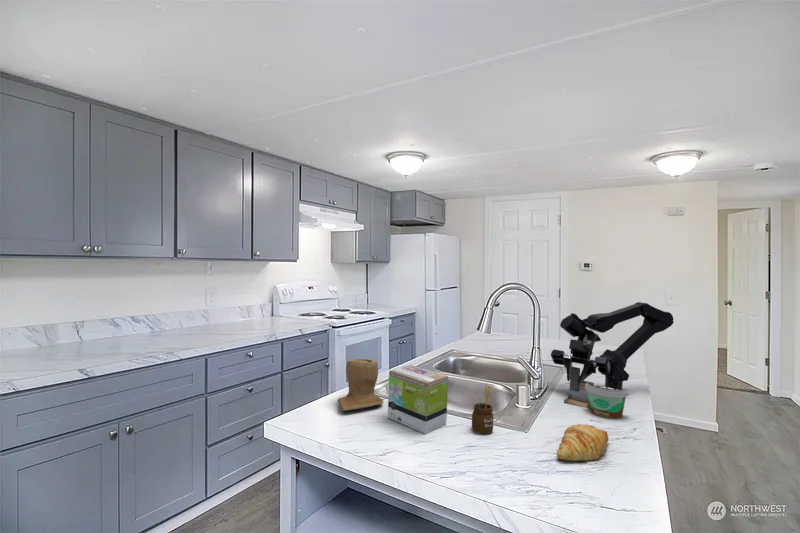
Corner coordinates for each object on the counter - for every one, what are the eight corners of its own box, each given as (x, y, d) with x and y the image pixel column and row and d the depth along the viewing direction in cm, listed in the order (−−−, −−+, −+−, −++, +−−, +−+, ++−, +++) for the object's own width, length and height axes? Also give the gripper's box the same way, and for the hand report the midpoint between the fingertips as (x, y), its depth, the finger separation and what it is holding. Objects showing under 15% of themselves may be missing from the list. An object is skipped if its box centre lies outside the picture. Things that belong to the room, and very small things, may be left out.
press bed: (571, 393, 149) (572, 378, 148) (595, 398, 144) (596, 382, 144) (563, 406, 135) (564, 389, 135) (589, 412, 131) (589, 394, 131)
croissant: (569, 482, 96) (585, 459, 92) (537, 447, 103) (551, 425, 99) (613, 456, 108) (629, 435, 105) (582, 426, 115) (595, 406, 112)
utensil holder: (467, 431, 114) (469, 388, 114) (478, 423, 119) (479, 383, 119) (487, 437, 110) (488, 393, 110) (496, 429, 115) (498, 387, 115)
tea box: (386, 419, 121) (387, 369, 120) (408, 410, 128) (410, 363, 128) (425, 435, 110) (427, 381, 110) (447, 424, 118) (449, 374, 117)
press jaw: (570, 396, 141) (571, 366, 140) (588, 400, 138) (590, 369, 137) (569, 398, 138) (570, 368, 138) (587, 402, 135) (588, 371, 135)
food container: (582, 418, 125) (583, 386, 125) (583, 411, 131) (584, 381, 131) (627, 427, 120) (629, 393, 119) (627, 420, 125) (628, 388, 125)
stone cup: (371, 396, 139) (372, 353, 139) (387, 408, 129) (389, 361, 129) (329, 403, 132) (330, 357, 131) (343, 416, 121) (344, 366, 121)
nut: (576, 393, 145) (576, 382, 145) (588, 395, 143) (589, 384, 143) (574, 396, 142) (574, 385, 142) (586, 399, 140) (587, 387, 140)
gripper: (553, 327, 147) (540, 362, 139) (609, 334, 135) (599, 374, 127) (560, 345, 154) (548, 380, 145) (614, 354, 141) (604, 393, 133)
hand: (573, 381), depth 138 cm, fingers open, 3 cm apart
